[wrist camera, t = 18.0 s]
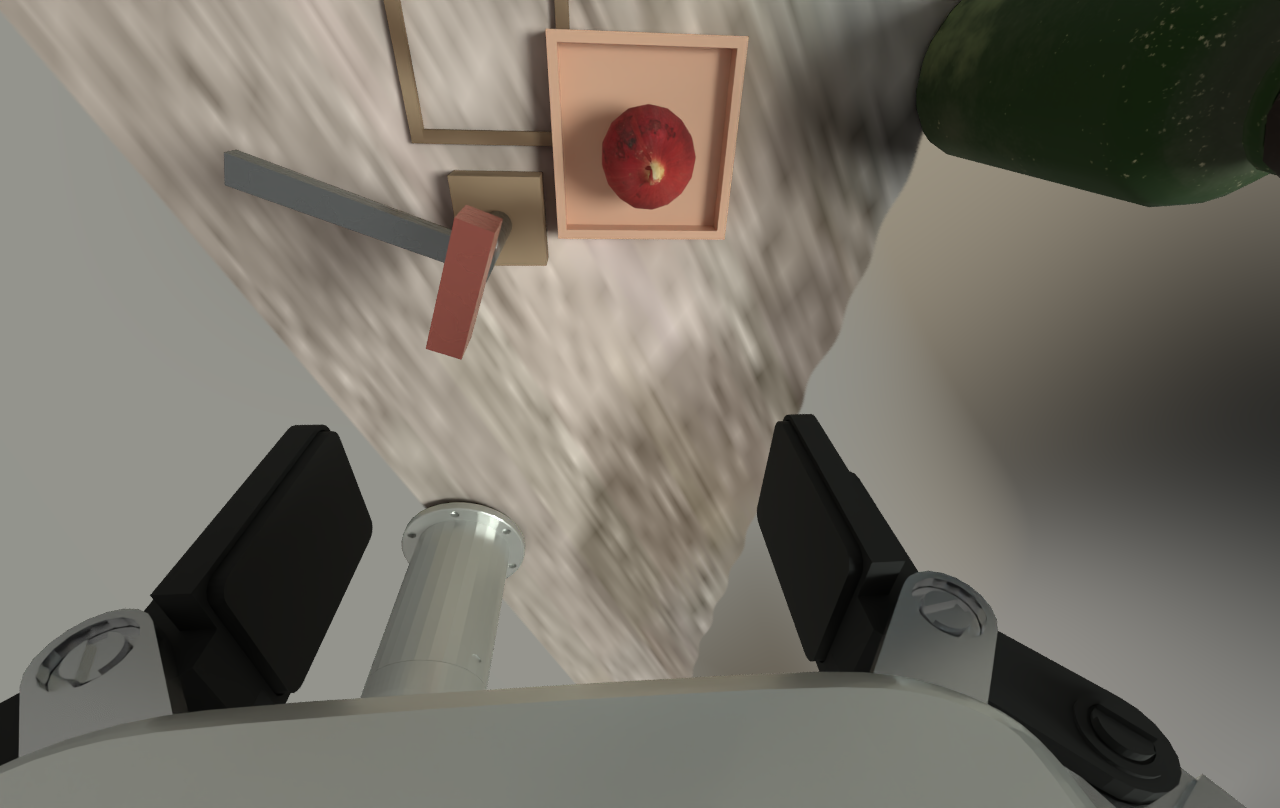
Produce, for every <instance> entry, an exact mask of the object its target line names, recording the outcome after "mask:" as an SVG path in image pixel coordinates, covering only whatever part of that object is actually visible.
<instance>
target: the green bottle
mask: <svg viewBox="0 0 1280 808" xmlns="http://www.w3.org/2000/svg"><path fill="white" fill-rule="evenodd" d="M916 107H917V111H918V115H919V118H920V122H921V126H922V130H923V132H924V134H925V135H926V137H927V138H928V140H929V141H930V142H931V143H932V144H934V145H935V146H937V147H938V148H939V149H941V150H942V151H943V152H945V153H946V154H949V155H953V156H956V157H960V158H964V159H968V160H971V161H975V162H979V163H983V164H987V165H990V166H994V167H998V168H1002V169H1006V170H1010V171H1013V172H1017V173H1021V174H1025V175H1029V176H1032V177H1036V178H1040V179H1044V180H1048V181H1051V182H1055V183H1059V184H1063V185H1067V186H1070V187H1075V188H1078V189H1082V190H1086V191H1090V192H1093V193H1097V194H1101V195H1105V196H1109V197H1112V198H1116V199H1120V200H1124V201H1128V202H1132V203H1136V204H1139V205H1143V206H1147V207H1158V206H1172V205H1186V204H1194V203H1203V202H1206V201H1210V200H1212V199H1216V198H1219V197H1222V196H1225V195H1227V194H1229V193H1231V192H1234V191H1236V190H1238V189H1240V188H1242V187H1244V186H1246V185H1248V184H1250V183H1252V182H1254V181H1256V180H1258V179H1260V178H1262V177H1264V176H1266V175H1268V174H1274V175H1277V176H1278V177H1279V178H1280V0H962V1H961V2H960V3H959V4H958V5H957V6H956V7H955V8H954V9H953V10H952V11H951V13H950V14H949V16H948V17H947V19H946V20H945V22H944V23H943V25H942V26H941V28H940V29H939V31H938V32H937V34H936V35H935V37H934V38H933V40H932V41H931V43H930V45H929V48H928V50H927V52H926V55H925V57H924V59H923V64H922V68H921V73H920V77H919V82H918V86H917V91H916Z"/></svg>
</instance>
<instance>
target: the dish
mask: <svg viewBox="0 0 1280 808" xmlns="http://www.w3.org/2000/svg"><path fill="white" fill-rule="evenodd" d="M748 39H749V36H724V35H698V34H672V33H646V32H620V31H593V30H567V29H546V45H547V61H548V78H549V94H550V110H551V126H552V142H553V159H554V175H555V191H556V207H557V223H558V239H719V240H724V239H725V231H726V222H727V214H728V206H729V197H730V189H731V181H732V172H733V164H734V156H735V147H736V139H737V130H738V122H739V114H740V105H741V97H742V89H743V80H744V72H745V64H746V55H747V47H748ZM646 104H652V105H656V106H660V107H664V108H668V109H669V110H670V111H672V112H673V113H674V114H675V115H676V116H678V117H679V118H680V119H681V120H682V121H683V123H684V124H685V126H686V128H687V129H688V131H689V133H690V134H691V136H692V139H693V145H694V150H695V155H696V159H695V164H694V169H693V174H692V178H691V180H690V181H689V183H688V184H687V186H686V187H685V189H684V191H683V192H682V194H680V195H679V196H678V197H677V198H676V199H674V200H673V201H672V202H671V203H669V204H668V205H665V206H662V207H659V208H656V209H653V210H649V209H638V208H634V207H632V206H631V205H629V204H627V203H626V202H624V201H623V200H621V199H620V198H619V197H618V196H617V195H616V193H615V192H614V191H613V190H612V188H611V187H610V186H609V185H608V182H607V179H606V176H605V173H604V170H603V167H602V142H603V140H604V138H605V136H606V133H607V131H608V129H609V127H610V125H611V123H612V122H613V121H614V120H615V119H616V118H618V117H619V116H620V115H621V114H622V113H623V112H625V111H626V110H627V109H628V108H632V107H637V106H641V105H646Z"/></svg>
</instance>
